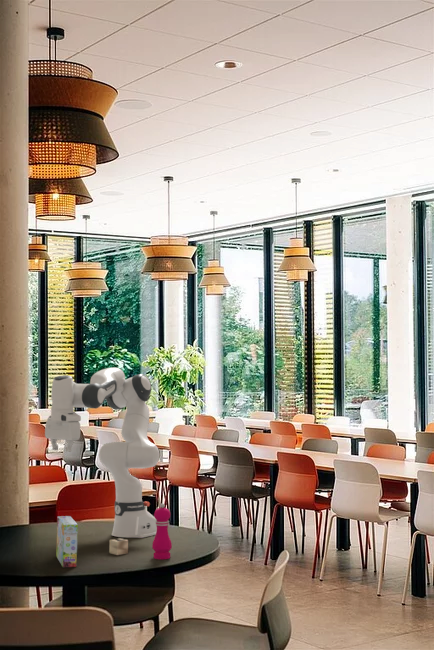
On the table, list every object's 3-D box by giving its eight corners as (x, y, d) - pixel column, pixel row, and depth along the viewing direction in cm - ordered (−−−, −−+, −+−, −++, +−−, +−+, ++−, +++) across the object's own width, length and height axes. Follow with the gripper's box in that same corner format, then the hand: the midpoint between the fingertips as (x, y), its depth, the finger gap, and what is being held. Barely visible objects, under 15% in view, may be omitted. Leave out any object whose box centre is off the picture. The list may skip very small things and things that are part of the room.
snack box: (78, 567, 321) (78, 524, 322) (62, 568, 319) (62, 524, 320) (70, 555, 341) (70, 515, 342) (55, 556, 340) (55, 515, 341)
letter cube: (120, 551, 350) (120, 537, 350) (127, 553, 346) (128, 539, 347) (109, 553, 347) (109, 539, 347) (117, 555, 343) (117, 541, 343)
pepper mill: (156, 560, 333) (157, 505, 334) (149, 556, 339) (149, 502, 340) (174, 558, 336) (175, 504, 337) (166, 555, 343) (167, 501, 344)
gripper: (41, 415, 370) (40, 449, 369) (69, 417, 355) (69, 453, 354) (54, 415, 374) (54, 448, 373) (83, 416, 359) (82, 452, 359)
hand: (61, 451), depth 364 cm, fingers open, 8 cm apart
